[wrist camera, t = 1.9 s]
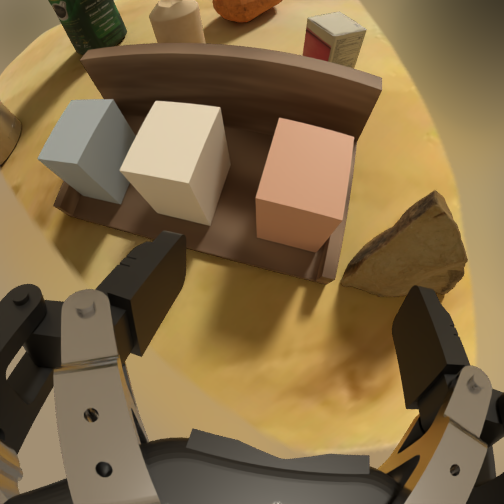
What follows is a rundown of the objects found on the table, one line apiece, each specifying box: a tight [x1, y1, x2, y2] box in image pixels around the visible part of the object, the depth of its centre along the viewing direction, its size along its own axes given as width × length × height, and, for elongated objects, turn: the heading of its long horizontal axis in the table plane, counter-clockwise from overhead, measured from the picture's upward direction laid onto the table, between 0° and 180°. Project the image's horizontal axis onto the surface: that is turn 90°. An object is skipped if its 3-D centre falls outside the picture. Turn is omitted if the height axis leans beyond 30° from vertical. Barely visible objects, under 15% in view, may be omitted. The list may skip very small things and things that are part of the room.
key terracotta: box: [255, 118, 354, 253], centre depth 20 cm, size 6×5×8 cm
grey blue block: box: [38, 99, 136, 204], centre depth 22 cm, size 6×5×8 cm
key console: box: [53, 43, 382, 284], centre depth 21 cm, size 14×26×10 cm, turn 75°
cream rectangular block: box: [120, 101, 231, 226], centre depth 21 cm, size 6×5×8 cm
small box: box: [303, 12, 366, 69], centre depth 25 cm, size 5×4×8 cm
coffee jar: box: [49, 0, 127, 55], centre depth 24 cm, size 10×8×19 cm
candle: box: [149, 0, 206, 44], centre depth 25 cm, size 6×6×10 cm
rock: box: [341, 190, 468, 297], centre depth 20 cm, size 11×9×10 cm
